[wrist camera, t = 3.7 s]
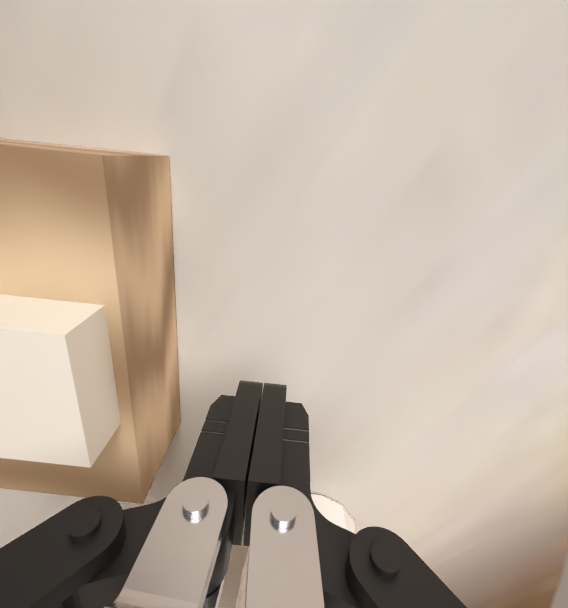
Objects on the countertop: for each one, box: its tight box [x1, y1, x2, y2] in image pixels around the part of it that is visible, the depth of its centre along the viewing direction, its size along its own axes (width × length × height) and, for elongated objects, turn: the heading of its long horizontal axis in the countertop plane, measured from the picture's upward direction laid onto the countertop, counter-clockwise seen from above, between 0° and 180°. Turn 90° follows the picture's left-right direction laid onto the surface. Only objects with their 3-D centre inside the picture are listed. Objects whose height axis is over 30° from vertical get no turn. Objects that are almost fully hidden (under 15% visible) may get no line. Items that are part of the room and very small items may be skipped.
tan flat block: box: [0, 139, 181, 504], centre depth 14 cm, size 14×12×5 cm
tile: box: [0, 294, 121, 468], centre depth 11 cm, size 5×5×2 cm
